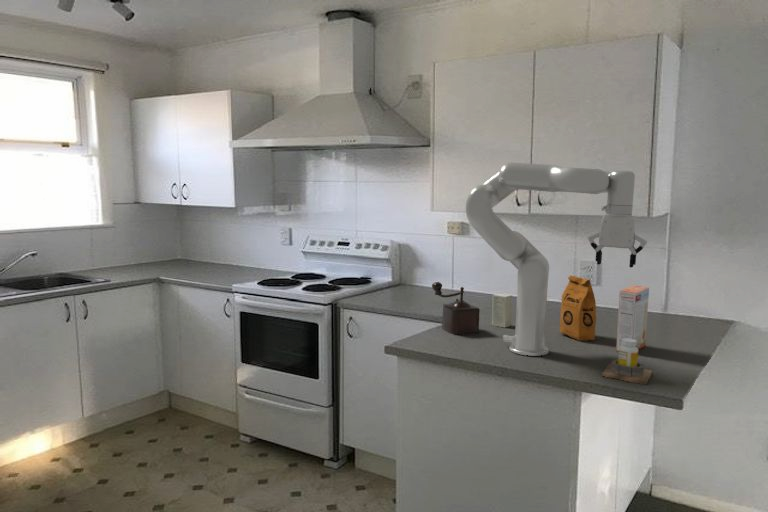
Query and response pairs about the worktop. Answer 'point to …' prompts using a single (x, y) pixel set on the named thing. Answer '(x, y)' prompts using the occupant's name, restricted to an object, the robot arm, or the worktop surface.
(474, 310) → the manual coffee grinder
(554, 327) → the worktop surface
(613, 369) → the socket board
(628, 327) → the cracker box
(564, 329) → the coffee package
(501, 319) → the skincare box
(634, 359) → the supplement bottle
